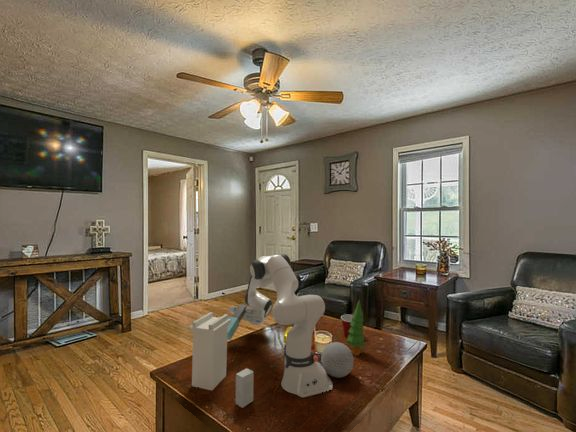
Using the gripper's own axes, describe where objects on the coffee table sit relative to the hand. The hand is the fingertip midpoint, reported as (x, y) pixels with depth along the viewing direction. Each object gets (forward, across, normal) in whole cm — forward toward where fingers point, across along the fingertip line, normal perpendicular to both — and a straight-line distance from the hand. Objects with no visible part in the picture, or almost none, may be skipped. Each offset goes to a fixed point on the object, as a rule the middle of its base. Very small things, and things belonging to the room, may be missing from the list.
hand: (241, 308), depth 162 cm
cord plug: (+4, 0, +9) cm, 10 cm away
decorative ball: (-5, +53, +24) cm, 59 cm away
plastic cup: (-47, +55, 0) cm, 72 cm away
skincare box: (+23, +21, +40) cm, 51 cm away
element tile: (-35, +25, +7) cm, 44 cm away
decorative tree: (-28, +60, +10) cm, 67 cm away
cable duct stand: (+16, 0, +35) cm, 39 cm away
